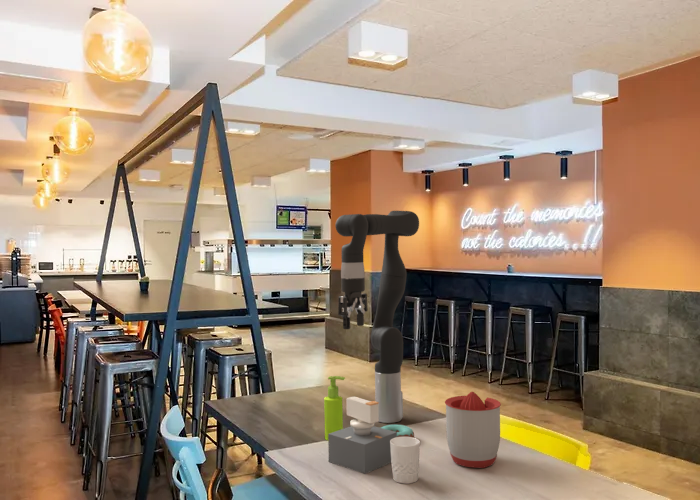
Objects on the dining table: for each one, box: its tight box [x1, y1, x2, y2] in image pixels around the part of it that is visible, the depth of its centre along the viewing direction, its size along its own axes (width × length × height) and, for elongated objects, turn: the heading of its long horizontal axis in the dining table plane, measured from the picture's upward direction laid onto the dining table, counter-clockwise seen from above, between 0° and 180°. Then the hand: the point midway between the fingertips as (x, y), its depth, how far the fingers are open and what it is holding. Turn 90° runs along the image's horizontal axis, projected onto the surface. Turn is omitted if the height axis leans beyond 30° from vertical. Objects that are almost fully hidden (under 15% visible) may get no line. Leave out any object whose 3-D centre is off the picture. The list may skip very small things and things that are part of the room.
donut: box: [380, 424, 415, 438], centre depth 186 cm, size 12×12×4 cm
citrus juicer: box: [444, 391, 501, 469], centre depth 168 cm, size 16×17×20 cm
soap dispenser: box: [323, 375, 346, 441], centre depth 189 cm, size 6×7×20 cm
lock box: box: [327, 425, 397, 474], centre depth 169 cm, size 14×14×10 cm
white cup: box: [390, 437, 421, 484], centre depth 155 cm, size 8×8×10 cm
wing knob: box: [346, 396, 379, 429], centre depth 169 cm, size 11×7×7 cm, turn 38°
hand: (353, 327), depth 187 cm, fingers open, 8 cm apart
